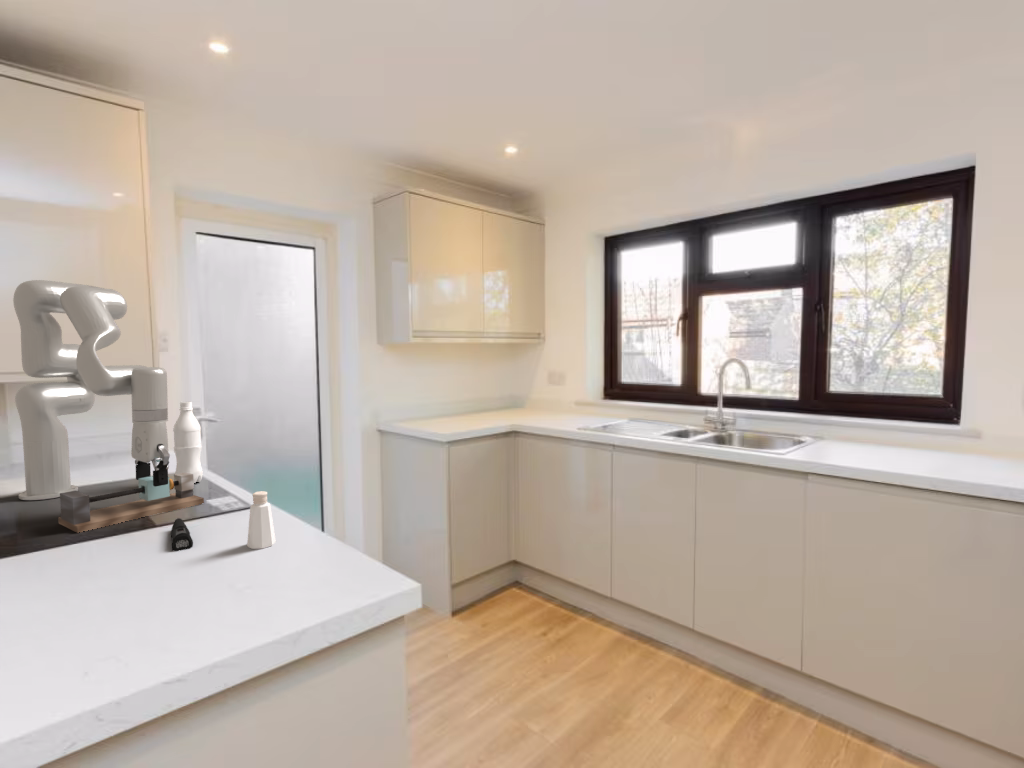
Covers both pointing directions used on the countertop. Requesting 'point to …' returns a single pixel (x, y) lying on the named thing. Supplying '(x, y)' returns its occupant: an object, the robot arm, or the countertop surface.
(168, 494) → the sleeve
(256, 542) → the pepper shaker
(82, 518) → the linear slide rail
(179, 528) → the electric trimmer
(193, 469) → the water bottle
